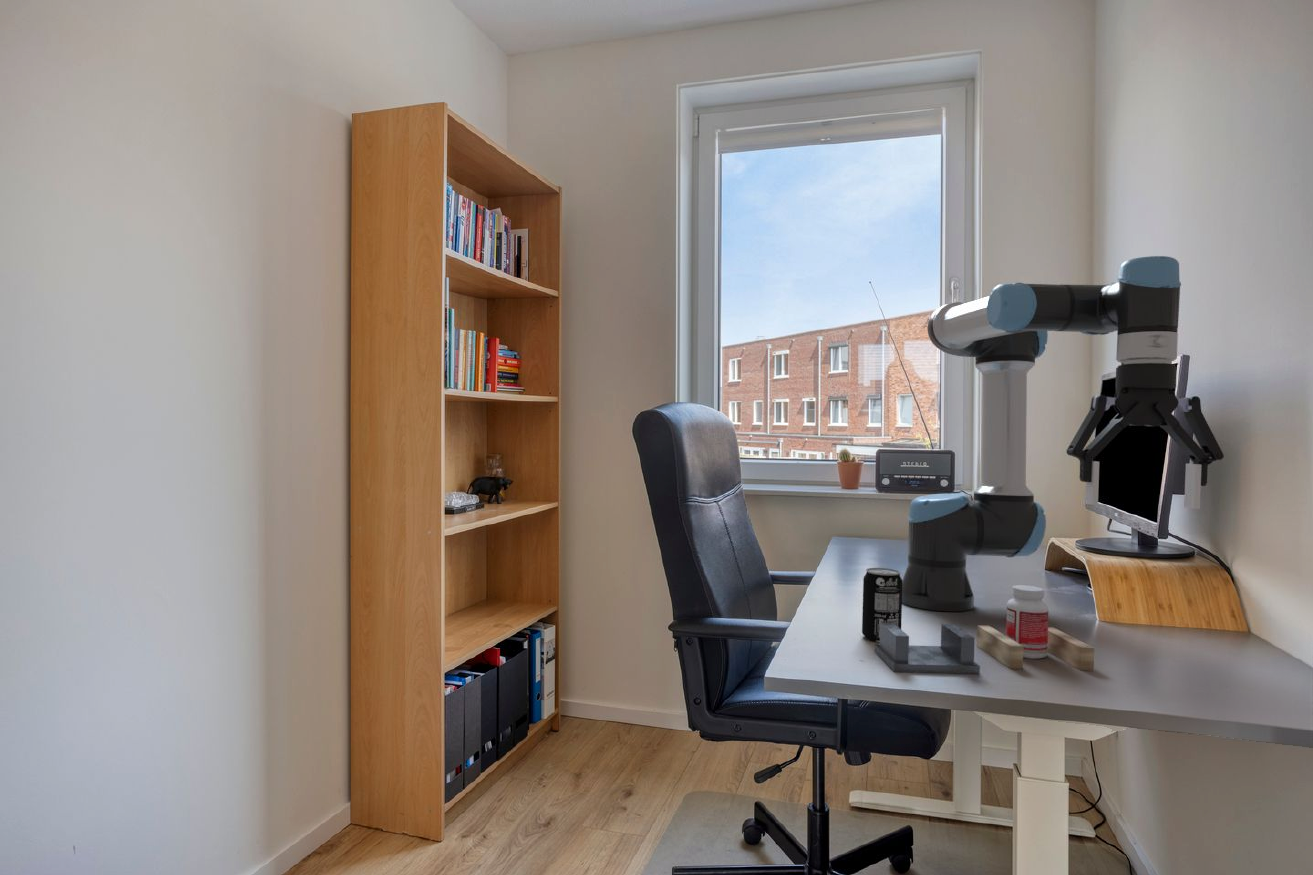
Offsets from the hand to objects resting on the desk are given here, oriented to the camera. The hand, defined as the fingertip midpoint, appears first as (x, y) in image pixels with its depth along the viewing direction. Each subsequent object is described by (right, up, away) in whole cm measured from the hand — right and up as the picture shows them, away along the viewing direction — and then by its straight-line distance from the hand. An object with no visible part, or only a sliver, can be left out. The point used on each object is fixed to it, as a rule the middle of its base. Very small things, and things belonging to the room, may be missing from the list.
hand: (1141, 506), depth 110 cm
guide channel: (-11, -26, +11) cm, 30 cm away
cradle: (-30, -25, +7) cm, 40 cm away
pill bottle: (-11, -26, +13) cm, 31 cm away
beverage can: (-33, -25, +20) cm, 46 cm away
